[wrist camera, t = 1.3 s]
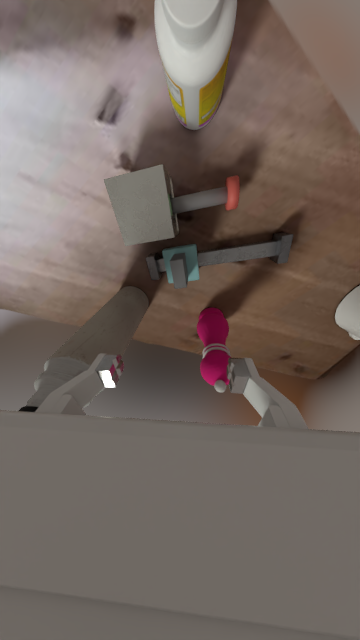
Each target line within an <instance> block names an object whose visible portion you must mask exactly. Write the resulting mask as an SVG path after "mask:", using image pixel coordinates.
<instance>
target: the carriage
mask: <svg viewBox="0 0 360 640" xmlns="http://www.w3.org/2000/svg"><path fill="white" fill-rule="evenodd" d="M162 253H163V258H164V263H165V268H166V272H167V277H168V282H169V283H174V287H175V289H177V288H185V287H187V282H188V281H192V280H199V268H198V260H197V247H196V244H191V245H185V246H179V247H173V248H167V249H164V250H163V251H162Z"/></svg>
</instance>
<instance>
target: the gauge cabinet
mask: <svg viewBox="0 0 360 640" xmlns="http://www.w3.org/2000/svg"><path fill="white" fill-rule="evenodd" d="M104 182H105V185H106V188H107V191H108V194H109V198H110V201H111V204H112V207H113V210H114V213H115V216H116V219H117V222H118V225H119V228H120V231H121V234H122V237H123V240H124V243H125V246H129V245H135V244H140V243H146V242H152V241H157V240H163V239H169V238H174V237H176V236H177V235H178V234H179V226H178V219H177V213H176V214H173V211H172V205H171V198H174V191H173V184H172V179H171V176H170V174H169V173H168V172H167V170H166V169H165V167H164V166H163V164H161V165H157V166H154V167H150V168H146V169H142V170H138V171H135V172H131V173H127V174H123V175H119V176H116V177H112V178H108V179H104Z"/></svg>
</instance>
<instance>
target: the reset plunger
mask: <svg viewBox="0 0 360 640" xmlns="http://www.w3.org/2000/svg"><path fill="white" fill-rule="evenodd" d="M239 189H240V185H239V176H238V175H236V176H232V177H228V178H226V183H225V187H220V188H216V189H211V190H207V191H202V192H198V193H193V194H189V195H184V196H180V197H175V198H171V205H172V211H173V214H176V213H181V212H186V211H191V210H196V209H201V208H205V207H210V206H215V205H220V204H225V208H226V210H231V209H236V208H237V206H238V201H239Z"/></svg>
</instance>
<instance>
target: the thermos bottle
mask: <svg viewBox="0 0 360 640" xmlns="http://www.w3.org/2000/svg"><path fill="white" fill-rule="evenodd" d="M148 306H149V301H148V298H147V296H146V295H145V293H144V292H143V291H142V290H140V289H138V288H136V287H132V286H128V287H124V288H122V289H121V290H120V291H119V292H118V293H117V294H116V295H115V296H114V297H113V298H111V299H110V300H109V301H108V302H107V303H106V304H105V305H104V306H103V307H102V308H101V309H100V310H99V311H98V312H97V313H96V314H95V315H94V316H93V317H92V318H91V319H90V320H89V321H87V322H86V323H85V324H84V325H83V326H82V327H81V328H80V329H79V330H78V331H77V332H76V333H75V334H74V335H73V336H72V337H71V338H70V339H69V340H68V341H67V342H66V343H65V344H64V345H62V347H60V348H59V349H58V350H57V351H56V352H55V353H54V354H53V355H52V356H51V357H50V358H49V359H48V360H47V361H46V362H45V365H44V370H45V372H43V373H41V374H40V375H39V376H38V379H37V380H36V381H35V383H34V386H35V390H36V391H37V392H36V393H35V394H34V395H33V396H32V397H31V398H30V399H29V400H28V402H27V405H26V406H25V407H22V408H21V409H20V410H19V411H23V412H35V411H36V410H37V409H38V407H39V406H40V405H41V404H42V403H43V401H44V400H45V399H46V398H47V396H48V395H49V394H50V393H51V392H53V391H54V390H56V389H57V388H59V387H60V386H62V385H64V384H65V383H67V382H68V381H70V380H71V379H73V378H74V377H76V376H78V375H79V374H81V373H82V372H84V371H87V370H88V369H89V367H90V366H91V364H92V363H93V362H94V360H95V359H96V357H97V356H98V355H99V354H100V353H105V354H120V355H121V357H122V355H123V353H124V352H125V350H126V348H127V346H128V344H129V342H130V341H131V339H132V337H133V335H134V333H135V331H136V329H137V327H138V326H139V324H140V322H141V320H142V318H143V316H144V314H145V313H146V311H147V309H148ZM103 390H104V389H102V390H101V391H100V392H102V391H103ZM100 392H99V393H100ZM95 397H96V396H95ZM95 397H94V398H95ZM94 398H93V399H94ZM93 399H92V400H93ZM92 400H91V401H92ZM91 401H90V402H89V403H87V404H86V405H85V406H84V407H87V406H88V405H89V404H90V403H91ZM84 407H83V408H84Z"/></svg>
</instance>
